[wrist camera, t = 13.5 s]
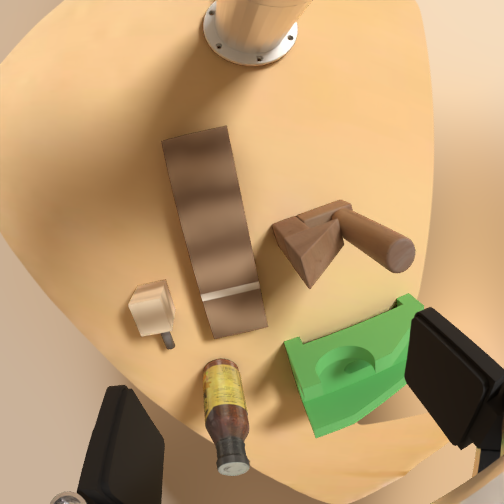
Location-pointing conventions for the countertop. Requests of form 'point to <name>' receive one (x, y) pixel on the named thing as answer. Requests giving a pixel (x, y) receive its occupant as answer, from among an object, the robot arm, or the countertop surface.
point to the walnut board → (216, 230)
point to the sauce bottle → (226, 415)
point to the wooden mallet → (338, 240)
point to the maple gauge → (154, 310)
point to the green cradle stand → (353, 367)
